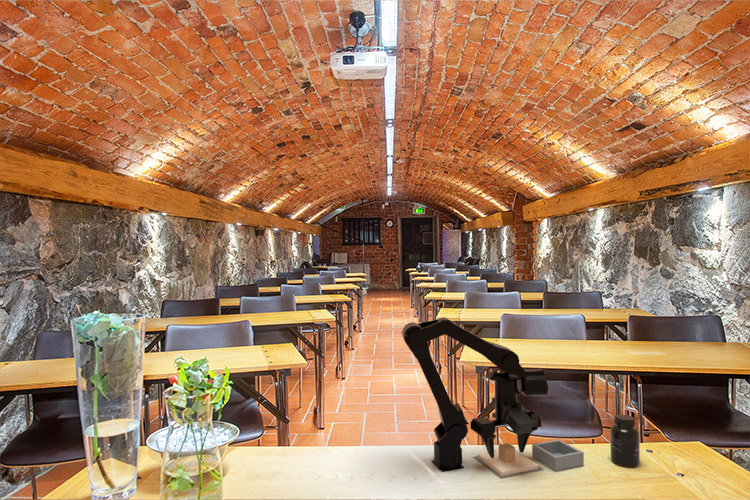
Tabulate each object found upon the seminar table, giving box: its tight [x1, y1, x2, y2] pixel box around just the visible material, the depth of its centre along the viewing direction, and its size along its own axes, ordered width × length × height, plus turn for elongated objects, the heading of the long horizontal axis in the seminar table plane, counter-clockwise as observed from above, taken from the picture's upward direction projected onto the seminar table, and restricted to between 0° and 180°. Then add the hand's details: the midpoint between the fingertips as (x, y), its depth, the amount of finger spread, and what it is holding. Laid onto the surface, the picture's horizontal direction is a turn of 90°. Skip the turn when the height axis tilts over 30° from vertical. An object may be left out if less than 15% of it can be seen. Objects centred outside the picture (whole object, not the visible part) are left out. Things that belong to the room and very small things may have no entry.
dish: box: [531, 439, 585, 473], centre depth 123 cm, size 9×9×4 cm
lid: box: [477, 442, 539, 476], centre depth 122 cm, size 11×11×4 cm
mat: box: [472, 455, 544, 479], centre depth 122 cm, size 13×13×1 cm
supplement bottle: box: [609, 413, 641, 468], centre depth 123 cm, size 7×7×12 cm
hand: (506, 455), depth 122 cm, fingers open, 9 cm apart
